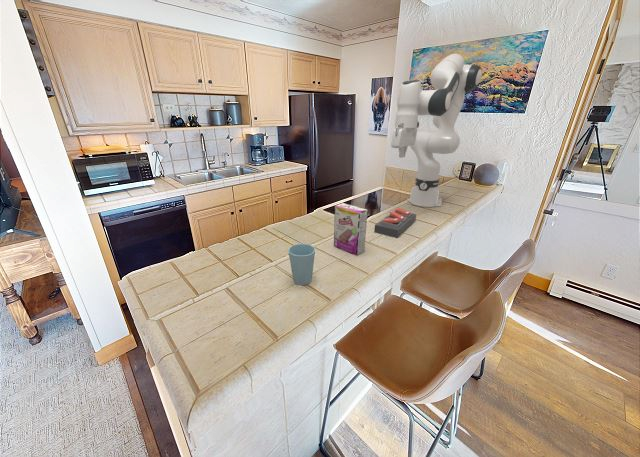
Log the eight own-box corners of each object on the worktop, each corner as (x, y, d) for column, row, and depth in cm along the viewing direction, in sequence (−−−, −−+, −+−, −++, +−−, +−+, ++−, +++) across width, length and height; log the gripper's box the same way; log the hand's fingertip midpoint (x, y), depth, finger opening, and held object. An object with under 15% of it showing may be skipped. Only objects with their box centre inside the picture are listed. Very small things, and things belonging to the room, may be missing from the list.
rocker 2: (392, 212, 120) (393, 210, 120) (403, 219, 118) (404, 217, 117) (389, 214, 118) (390, 212, 118) (401, 221, 116) (402, 219, 115)
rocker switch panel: (397, 214, 134) (398, 206, 133) (417, 218, 129) (419, 210, 127) (374, 232, 113) (375, 222, 112) (396, 238, 108) (398, 228, 106)
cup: (316, 287, 77) (315, 255, 73) (289, 288, 76) (287, 256, 72) (314, 273, 84) (314, 243, 80) (290, 274, 83) (288, 243, 79)
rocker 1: (385, 220, 116) (385, 218, 115) (399, 220, 112) (399, 218, 112) (383, 222, 113) (382, 220, 113) (396, 222, 110) (396, 220, 109)
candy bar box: (332, 246, 101) (333, 205, 94) (341, 242, 104) (342, 202, 98) (357, 256, 94) (359, 212, 87) (365, 251, 97) (368, 209, 91)
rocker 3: (397, 209, 126) (398, 207, 125) (409, 214, 123) (410, 212, 123) (395, 211, 124) (395, 209, 123) (407, 216, 121) (408, 214, 120)
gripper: (404, 124, 103) (400, 160, 108) (420, 123, 118) (416, 155, 123) (389, 123, 106) (385, 159, 111) (406, 123, 121) (402, 154, 127)
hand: (402, 157), depth 117 cm, fingers closed
